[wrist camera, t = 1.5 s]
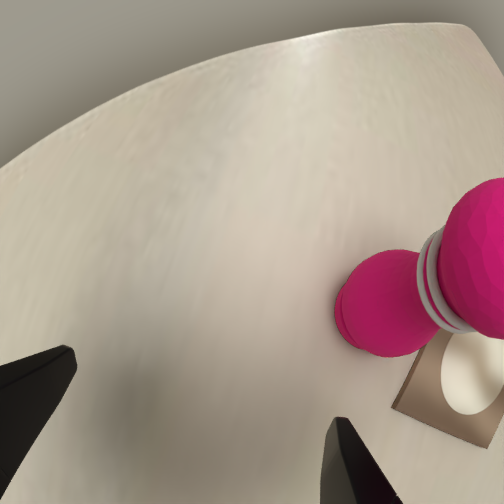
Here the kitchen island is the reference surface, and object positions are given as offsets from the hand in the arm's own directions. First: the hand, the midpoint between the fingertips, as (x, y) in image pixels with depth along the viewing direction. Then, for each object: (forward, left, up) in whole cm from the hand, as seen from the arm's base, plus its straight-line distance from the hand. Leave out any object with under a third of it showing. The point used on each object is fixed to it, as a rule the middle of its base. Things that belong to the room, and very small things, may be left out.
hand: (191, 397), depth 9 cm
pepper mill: (+3, -12, -15) cm, 19 cm away
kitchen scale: (-4, -22, -14) cm, 26 cm away
